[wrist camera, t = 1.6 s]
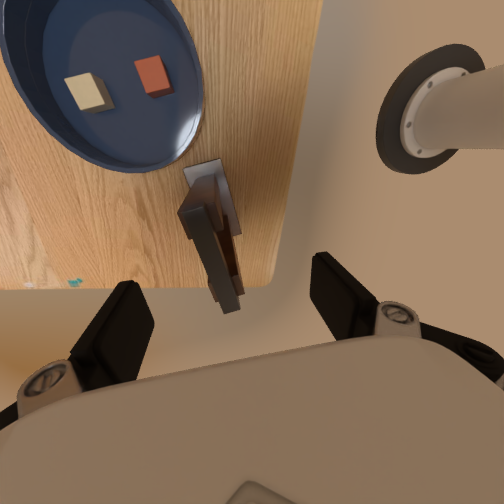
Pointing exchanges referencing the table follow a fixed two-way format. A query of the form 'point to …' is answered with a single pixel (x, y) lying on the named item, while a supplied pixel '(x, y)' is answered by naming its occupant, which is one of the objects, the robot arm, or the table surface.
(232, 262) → the stick stand
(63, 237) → the table surface
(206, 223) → the stirring stick
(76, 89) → the cream block
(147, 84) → the terracotta block
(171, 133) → the bowl
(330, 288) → the robot arm
